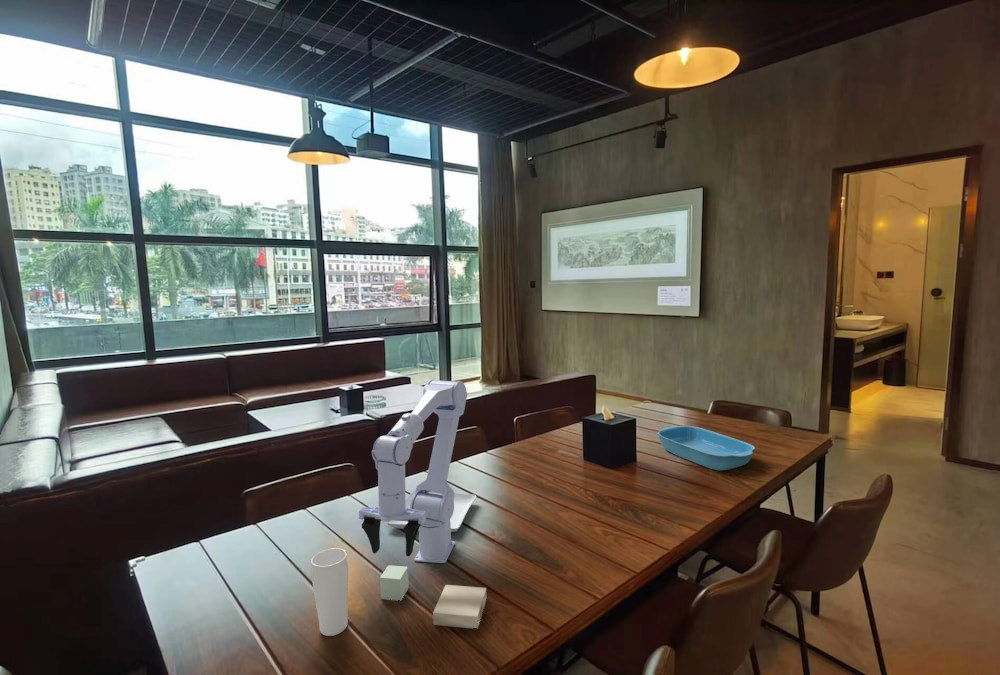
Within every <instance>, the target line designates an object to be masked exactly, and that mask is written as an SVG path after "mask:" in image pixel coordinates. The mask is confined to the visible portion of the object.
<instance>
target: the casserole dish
mask: <svg viewBox="0 0 1000 675" xmlns="http://www.w3.org/2000/svg"><path fill="white" fill-rule="evenodd" d="M657 435H658V438H659V442H660V445H661V446H662V448H663V449H664V450H666V451H667V452H669V453H671V454H673V455H675V456H677V457H679V458H682V459H685V460H687V461H689V462H691V463H694V464H696V465H699V466H702V467H705V468H707V469H709V470H714V471H719V472H721V471H727V470H732V469H735V468H738V467H742V466H745V465H747V464H748V463H749V462H750V461H751V459H752V457H753V455H754V452H755V450H756V447H755V446H754V445H752V444H751V443H748V442H746V441H743V440H740V439H737V438H734V437H731V436H728V435H724V434H721V433H719V432H715V431H712V430H710V429H705V428H702V427H699V426H691V425H685V426H684V425H682V426H681V425H680V426H679V425H675V426H666V427H663V428H662V429H661V430H659V431H657Z"/></svg>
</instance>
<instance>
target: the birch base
mask: <svg viewBox="0 0 1000 675" xmlns="http://www.w3.org/2000/svg"><path fill="white" fill-rule="evenodd" d="M444 585H445V586H444V587H443V590H442V592H441V593H440V596H439V597H438V601H437V603H436V605H435V607H434V610H433V613H432V617H433V618H432V619H433V626H443V627H444V626H445V627H451V628H452V627H454V628H465V629H473V628H477V629H476V630H478V629H479V626H480V623H481V620H480V619H482V616H483V613H484V610H483V609H485V606H486V603H487V600H486V599H488V598H487V587H479V586H466V585H465V586H464V585H456V584H455V585H454V584H453V585H452V584H444ZM485 602H486V603H485ZM482 612H483V613H482ZM479 622H480V623H479Z"/></svg>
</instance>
